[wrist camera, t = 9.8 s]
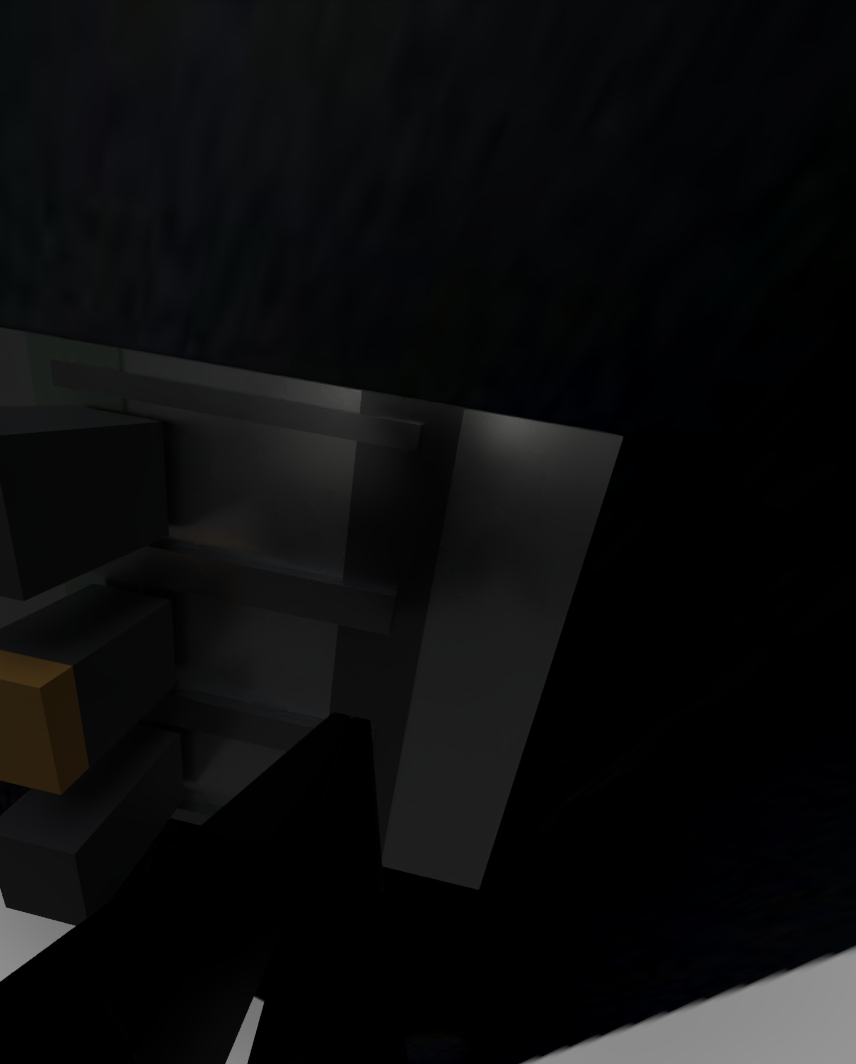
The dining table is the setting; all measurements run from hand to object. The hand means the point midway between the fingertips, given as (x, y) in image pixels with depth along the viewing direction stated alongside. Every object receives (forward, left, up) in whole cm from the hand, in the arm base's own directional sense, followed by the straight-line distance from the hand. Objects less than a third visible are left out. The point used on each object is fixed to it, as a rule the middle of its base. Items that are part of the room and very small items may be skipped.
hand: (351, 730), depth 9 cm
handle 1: (+7, -4, -3) cm, 9 cm away
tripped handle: (+7, +1, -3) cm, 8 cm away
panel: (+4, +1, -4) cm, 6 cm away
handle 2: (+7, +6, -3) cm, 10 cm away
